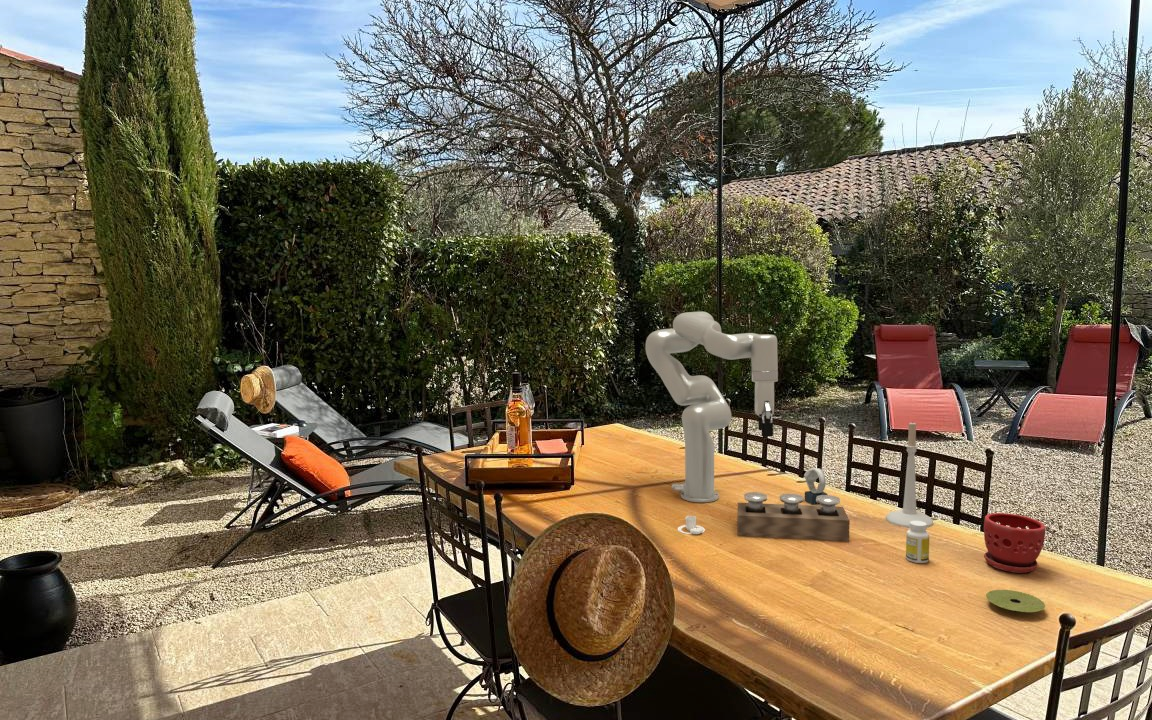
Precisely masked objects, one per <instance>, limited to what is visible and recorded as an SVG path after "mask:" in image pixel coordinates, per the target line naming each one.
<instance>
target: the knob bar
mask: <svg viewBox="0 0 1152 720" xmlns="http://www.w3.org/2000/svg"><path fill="white" fill-rule="evenodd" d="M850 522H851V521H850V518H849V516H848V514H847V512H846V510H845V508H844V506H837V505H835V516H821V515H820V505H811V504H809V505H808V504H807V505H806V504H804V505H803V504H799V514H784V503H782V504H779V503H763V513H751V512H748V502H737V523H736V524H737V536H738V537H748V538H749V537H753V538H773V539H790V540H791V539H793V540H794V539H795V540H814V541H830V542H831V541H835V542H850V525H851V524H850Z"/></svg>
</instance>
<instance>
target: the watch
mask: <svg viewBox="0 0 1152 720" xmlns="http://www.w3.org/2000/svg"><path fill="white" fill-rule="evenodd" d="M803 477H804V478H805V483H806V484H807V487H808V489H809V490H808V491H804V501H805V502H806V503H807V504H809V505H811V506H816V505H820V503H817V502H816V497H817V496H819V495H828V493H827V492H825V489H826V482H827V481H826V475H825V473H824V471H823V470H822V469H821V468H818V467H817V468H816V467H812V468H811V467H810V468H809V469H807V470H806V471H805V473H804V475H803ZM817 479H818V480H819V482H818V484H817V488H816V485H815V482H816V480H817Z"/></svg>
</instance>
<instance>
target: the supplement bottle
mask: <svg viewBox="0 0 1152 720" xmlns="http://www.w3.org/2000/svg"><path fill="white" fill-rule="evenodd" d="M927 530H928V527H927V524H926V523H925V522H922V521H911V522H910V528H908V530H907V531H906V535H905V536H906V537H905V538H906V540H905V541H906V543H905V558H906V559H907V561H909V562H911V563H917V564H926V563H928V562H929V559H930V534H929V532H928V531H927Z"/></svg>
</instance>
